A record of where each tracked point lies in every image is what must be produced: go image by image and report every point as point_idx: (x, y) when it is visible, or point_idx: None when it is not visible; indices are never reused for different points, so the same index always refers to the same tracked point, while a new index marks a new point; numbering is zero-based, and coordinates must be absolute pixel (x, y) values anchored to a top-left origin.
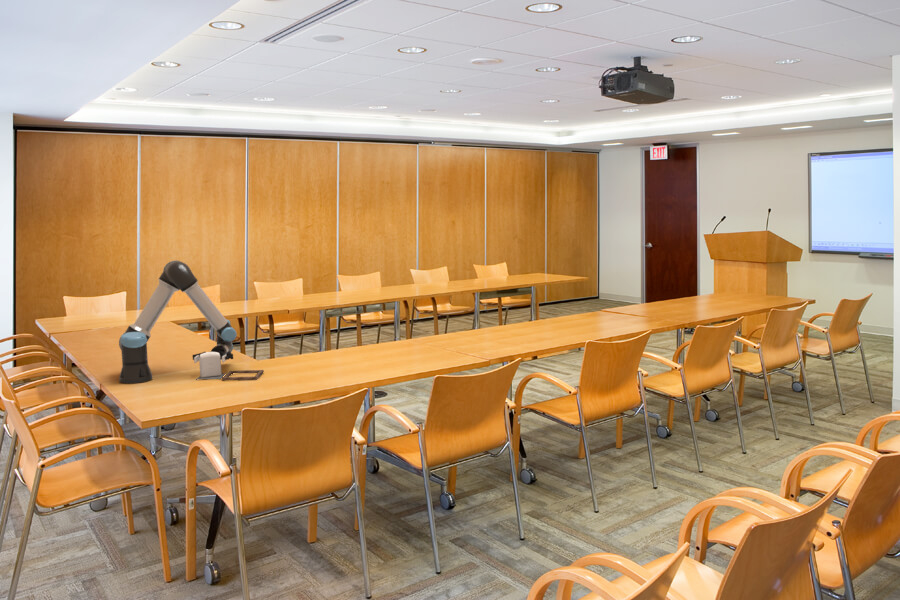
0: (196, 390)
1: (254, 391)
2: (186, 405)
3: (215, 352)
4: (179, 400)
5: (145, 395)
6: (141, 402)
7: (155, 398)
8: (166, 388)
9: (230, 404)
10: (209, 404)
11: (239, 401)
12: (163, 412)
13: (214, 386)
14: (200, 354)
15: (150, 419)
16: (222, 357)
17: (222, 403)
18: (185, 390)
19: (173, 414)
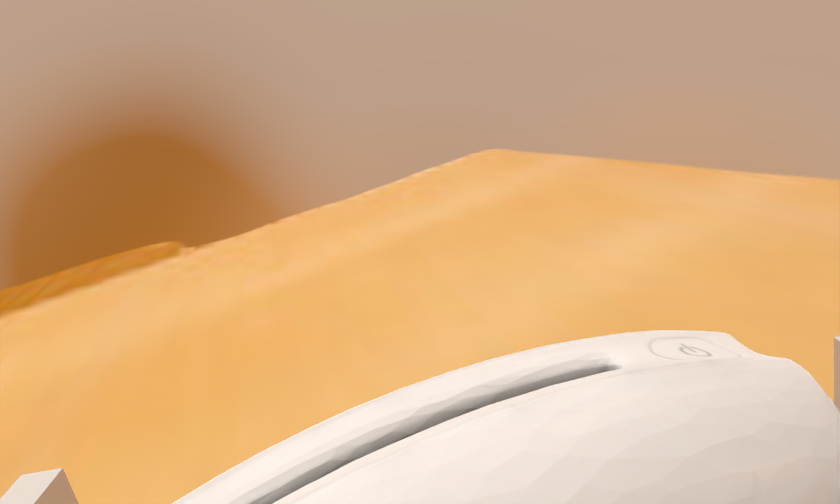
0: (455, 332)
1: (42, 373)
2: (406, 212)
3: (177, 501)
4: (472, 229)
5: (765, 226)
6: (657, 187)
7: (635, 218)
8: (786, 328)
9: (220, 247)
10: (309, 232)
11: (177, 269)
12: (464, 175)
13: None
14: (771, 357)
15: (473, 154)
16: (49, 482)
17: (254, 246)
18: (549, 320)
19: (418, 176)
